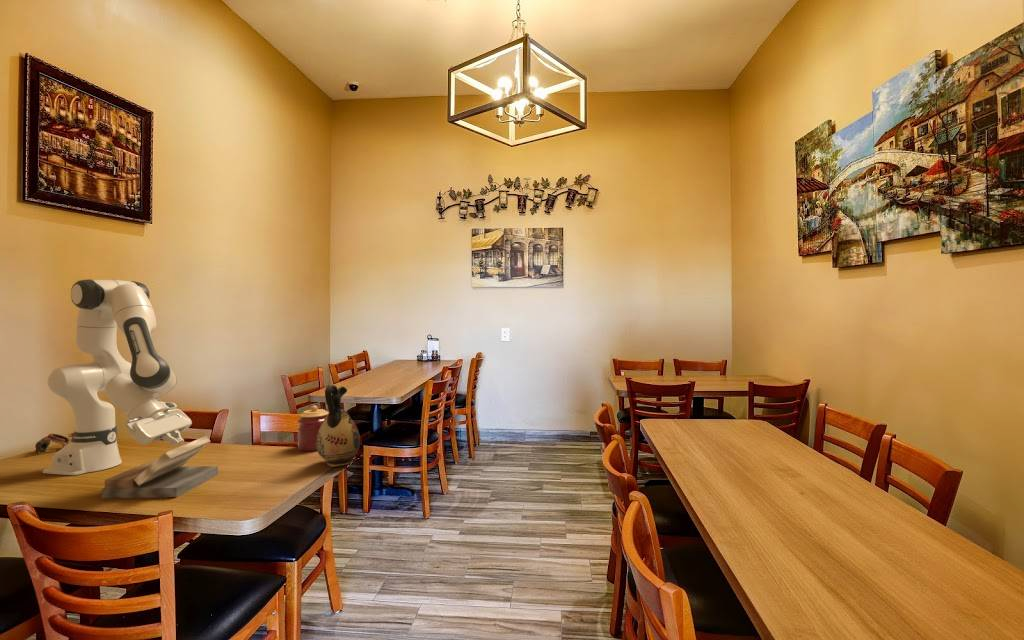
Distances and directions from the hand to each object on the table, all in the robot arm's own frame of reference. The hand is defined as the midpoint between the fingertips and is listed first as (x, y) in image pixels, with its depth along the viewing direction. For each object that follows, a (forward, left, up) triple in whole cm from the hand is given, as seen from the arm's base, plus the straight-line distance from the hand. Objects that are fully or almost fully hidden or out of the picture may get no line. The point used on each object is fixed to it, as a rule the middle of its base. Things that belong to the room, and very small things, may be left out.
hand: (179, 443), depth 152 cm
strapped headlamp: (-84, +40, -14) cm, 94 cm away
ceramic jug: (+44, +20, -14) cm, 51 cm away
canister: (+26, +42, -14) cm, 52 cm away
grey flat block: (-6, 0, -14) cm, 15 cm away
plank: (-1, 0, -6) cm, 6 cm away
